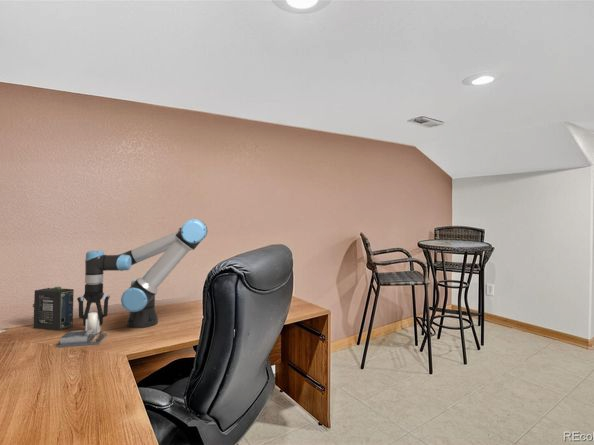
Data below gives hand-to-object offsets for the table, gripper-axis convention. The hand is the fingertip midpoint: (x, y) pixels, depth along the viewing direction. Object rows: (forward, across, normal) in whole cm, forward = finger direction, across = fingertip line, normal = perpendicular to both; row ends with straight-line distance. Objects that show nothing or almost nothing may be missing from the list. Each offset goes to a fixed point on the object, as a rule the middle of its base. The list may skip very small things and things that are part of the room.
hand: (92, 332), depth 161 cm
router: (+1, +22, -16) cm, 27 cm away
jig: (+1, +1, +11) cm, 11 cm away
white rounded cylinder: (+1, 0, 0) cm, 1 cm away
